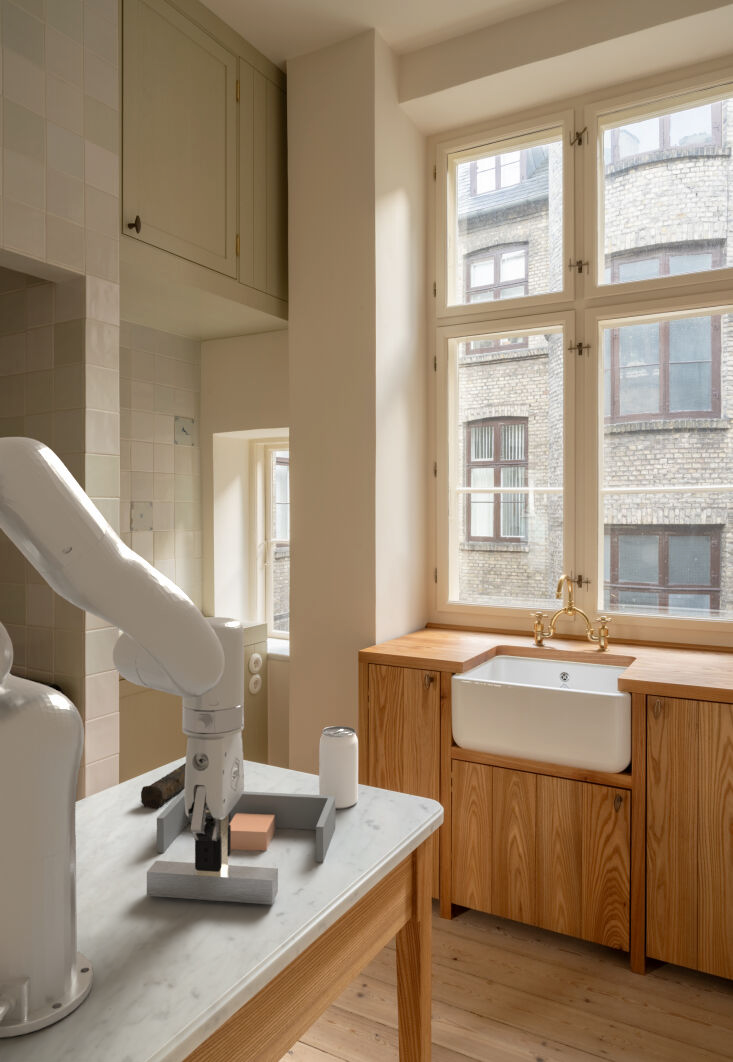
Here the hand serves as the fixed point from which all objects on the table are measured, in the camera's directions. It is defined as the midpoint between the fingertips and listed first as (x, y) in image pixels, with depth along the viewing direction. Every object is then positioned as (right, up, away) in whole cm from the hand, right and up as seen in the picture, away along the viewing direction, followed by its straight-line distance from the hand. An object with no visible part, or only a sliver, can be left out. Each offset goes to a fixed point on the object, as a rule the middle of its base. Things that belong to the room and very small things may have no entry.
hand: (213, 861), depth 93 cm
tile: (+2, -5, +17) cm, 17 cm away
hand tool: (-14, -4, +37) cm, 40 cm away
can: (+15, -4, +31) cm, 34 cm away
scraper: (0, -4, 0) cm, 4 cm away
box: (+2, -4, +16) cm, 17 cm away
